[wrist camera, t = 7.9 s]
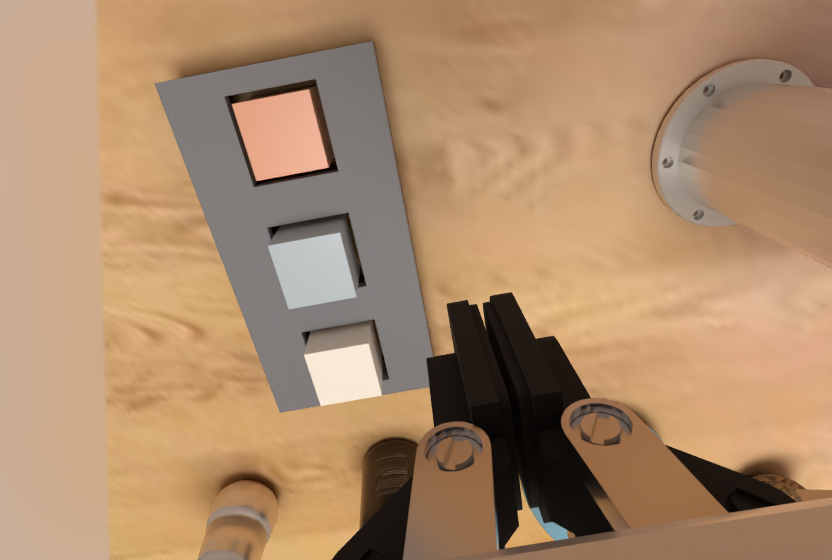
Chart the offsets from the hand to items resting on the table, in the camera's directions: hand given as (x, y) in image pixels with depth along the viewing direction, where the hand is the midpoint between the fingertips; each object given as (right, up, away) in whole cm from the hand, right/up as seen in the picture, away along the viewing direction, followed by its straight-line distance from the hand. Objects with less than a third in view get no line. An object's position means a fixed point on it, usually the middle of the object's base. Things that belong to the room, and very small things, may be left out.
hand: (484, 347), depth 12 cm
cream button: (-8, -4, +29) cm, 30 cm away
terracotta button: (-11, +13, +23) cm, 29 cm away
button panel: (-9, +5, +27) cm, 29 cm away
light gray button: (-9, +4, +25) cm, 27 cm away
